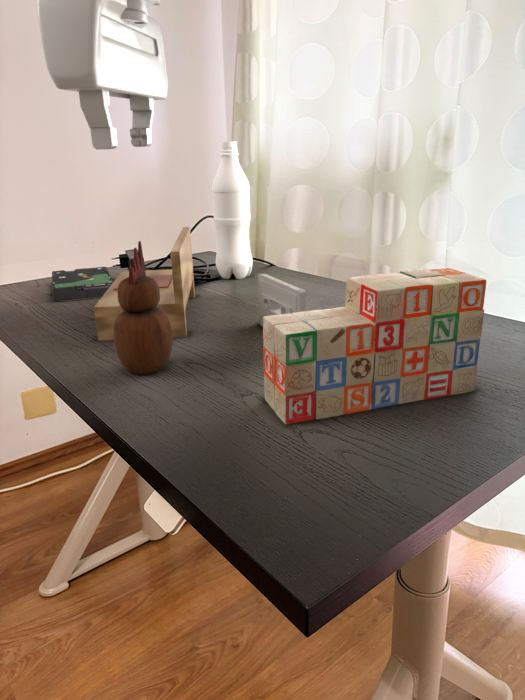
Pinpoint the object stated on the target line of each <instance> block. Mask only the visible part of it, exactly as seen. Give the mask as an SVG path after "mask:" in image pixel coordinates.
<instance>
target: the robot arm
mask: <svg viewBox="0 0 525 700" xmlns="http://www.w3.org/2000/svg"><path fill="white" fill-rule="evenodd" d="M160 5H161V0H36V11H37V19H38V26H39V32H40V38H41V44H42V50H43V54H44V55H43V56H44V59H45V65H46V69H47V71H48V74H49V75H50V78H51V80H52V82H53V84H54V85H55V87H56V88H57V89H58V90H63V91H69V92H78V96H79V105H80V109H81V111H82V113H83V115H84V118H85V121H86V123H87V125H88V127H89V130H90V138H91V145H92V147H93V149H95V150H115V149H116V148H118V146H119V145H118V143H119V141H118V134H117V133H118V131H117V127H114V126H113V123H112V118H111V114H110V110H109V107H110V106H111V99H110V97H111V98H112V97H113V98H119V99H127V100H128V101H129V111H130V112H132V118H131V119H132V120H131V121H132V122H131V123H132V124H131V125H132V126H131V127H132V128H129V135H130V144H131V145H132V147H135V148H140V147H141V148H142V147H143V148H144V147H145V148H146V147H151V146H152V144H153V135H152V127H153V121H154V116H155V102H154V101H162V100H166V99H167V97H168V92H169V91H168V90H169V79H168V70H167V61H166V54H165V53H166V52H165V46H164V45H165V44H164V37H163V34H162V30H161V29H162V28H161V26H160V24H159V22H158V21H157V20H156V19H155V18H153V17H152V16H151V15H149V12H148V10H151V9H152V10H153V9H155V8H157V7H159V6H160Z"/></svg>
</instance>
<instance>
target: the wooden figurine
mask: <svg viewBox="0 0 525 700" xmlns="http://www.w3.org/2000/svg"><path fill="white" fill-rule="evenodd" d="M130 260H131V261H130V262H131V263H130V264H131V266H129V267H128V271H129V277H128V278H125V279H124V280H122V281H121V282H120V283H119V285H118V290H117V293H118V301H119V304H120V306H121V308H122V309H123V310H125V311H123V312H122V313H120V314H119V315H118V316H117V318H116V320H115V323H114V329H113V332H114V340H113V342H114V347H115V351H116V355H117V358H118V359H119V362H120V364H121V365H122V367H123V368H124V369H125V370H126V371H127V372H128V373H130V374H131V375H135V376H136V375H137V376H138V375H139V376H143V375H150V374H154V373H156V372H159V371H160V370H162V369H163V368H164V367H165V366H166V365H167V364H168V362H169V360H170V356H171V352H172V349H173V342H174V337H173V335H172V329H171V325H170V321H169V318H168V316H167V314H166V313H165V312H164V311H163V310H162V309H161V308H159V307H156V306H157V305H158V303H159V301H160V291H159V286H158V284H157V282H156V280H155V279H154V278H151V277H148V276H146V271H145V270H146V265H145V259H144V253H143V247H142V241H141V240H138V242H137V247H133V258H131V259H130Z"/></svg>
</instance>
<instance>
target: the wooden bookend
mask: <svg viewBox="0 0 525 700" xmlns="http://www.w3.org/2000/svg"><path fill="white" fill-rule="evenodd" d="M191 233H192V232H191V227H190V226H183V227H182V228H181V231H180V233H179V234H178V237H177V238H176V240H175V242H174V245H173V246H172V248H171V250H170V262H171V269H150V270H149V269H148V270H147V269H145V271H146V276H148V277H151V278H154V279H155V280H156V282H157V284H158V286H159V291H160V301H159V303H158V305H157V306H156V307H159V308H161V309H162V310H163V311H164V312H165V313H166V314H167V316H168V318H169V321H170V325H171V329H172V335H173V338H186V337H187V335H188V328H187V317H186V315H187V314H186V309H187V304H188V301H189V299H195V298H196V292H195V291H196V290H195V279H194V277H195V276H194V262H193V249H192V247H193V246H192V235H191ZM128 277H129V270H124V271H123V270H122V271H121V272H120V273H119V275H118V276H117V277H116V278H115V279H114V281H112V282H113V283H112V285H111V286H110V287H109V289H108V290H107V291H106V292H105V294H104V295H103V296H102V297H100V299H99V300H98V301H97V302H96V303H95V305H94V306H93V312H94V319H95V327H96V334H97V341H98V342H100V341H101V342H103V341H114V332H113V329H114V323H115V320H116V318H117V316H118V315H119V314H120V313H122V312H123V311H125V310H123V309H122V308H121V306H120V304H119V301H118V293H117V290H118V285H119V283H120V282H121V281H122V280H124V279H125V278H128Z"/></svg>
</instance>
